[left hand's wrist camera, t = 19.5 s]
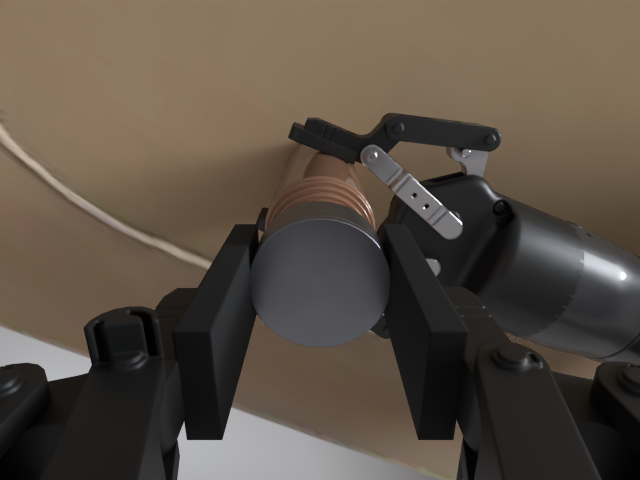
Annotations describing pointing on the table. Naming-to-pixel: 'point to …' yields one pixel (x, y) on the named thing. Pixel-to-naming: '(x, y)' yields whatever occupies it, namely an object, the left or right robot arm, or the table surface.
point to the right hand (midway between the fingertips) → (275, 175)
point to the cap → (320, 275)
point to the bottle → (318, 184)
